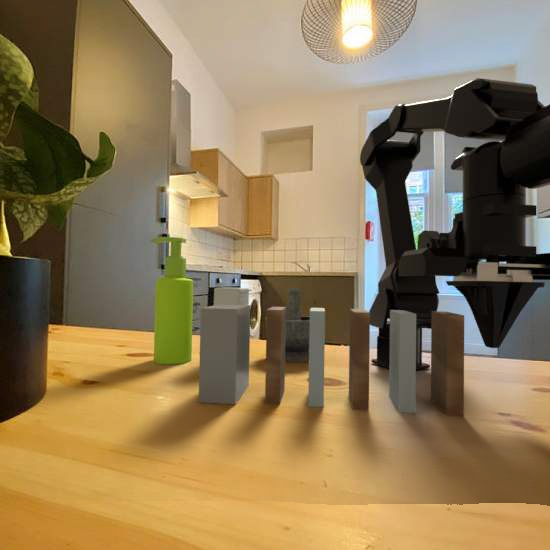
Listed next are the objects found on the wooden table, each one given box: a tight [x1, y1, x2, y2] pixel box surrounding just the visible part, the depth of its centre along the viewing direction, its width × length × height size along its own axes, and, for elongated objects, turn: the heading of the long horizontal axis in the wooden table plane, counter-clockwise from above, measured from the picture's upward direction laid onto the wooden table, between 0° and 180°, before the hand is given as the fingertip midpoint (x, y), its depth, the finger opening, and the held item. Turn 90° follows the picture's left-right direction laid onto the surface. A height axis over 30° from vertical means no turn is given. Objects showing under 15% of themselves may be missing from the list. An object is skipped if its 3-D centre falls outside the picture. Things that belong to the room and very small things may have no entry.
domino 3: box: [348, 308, 371, 411], centre depth 38 cm, size 2×5×10 cm, turn 173°
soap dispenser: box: [150, 236, 194, 365], centre depth 57 cm, size 6×7×20 cm
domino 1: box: [264, 306, 287, 405], centre depth 39 cm, size 2×5×10 cm, turn 173°
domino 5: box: [430, 310, 465, 417], centre depth 37 cm, size 2×5×10 cm, turn 173°
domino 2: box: [307, 307, 326, 408], centre depth 39 cm, size 2×5×10 cm, turn 172°
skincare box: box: [213, 287, 250, 306], centre depth 57 cm, size 6×4×12 cm
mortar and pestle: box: [264, 287, 310, 363], centre depth 61 cm, size 11×9×12 cm
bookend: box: [198, 304, 251, 405], centre depth 40 cm, size 4×7×10 cm, turn 173°
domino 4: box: [388, 310, 417, 414], centre depth 38 cm, size 2×5×10 cm, turn 173°
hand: (492, 347), depth 37 cm, fingers closed
